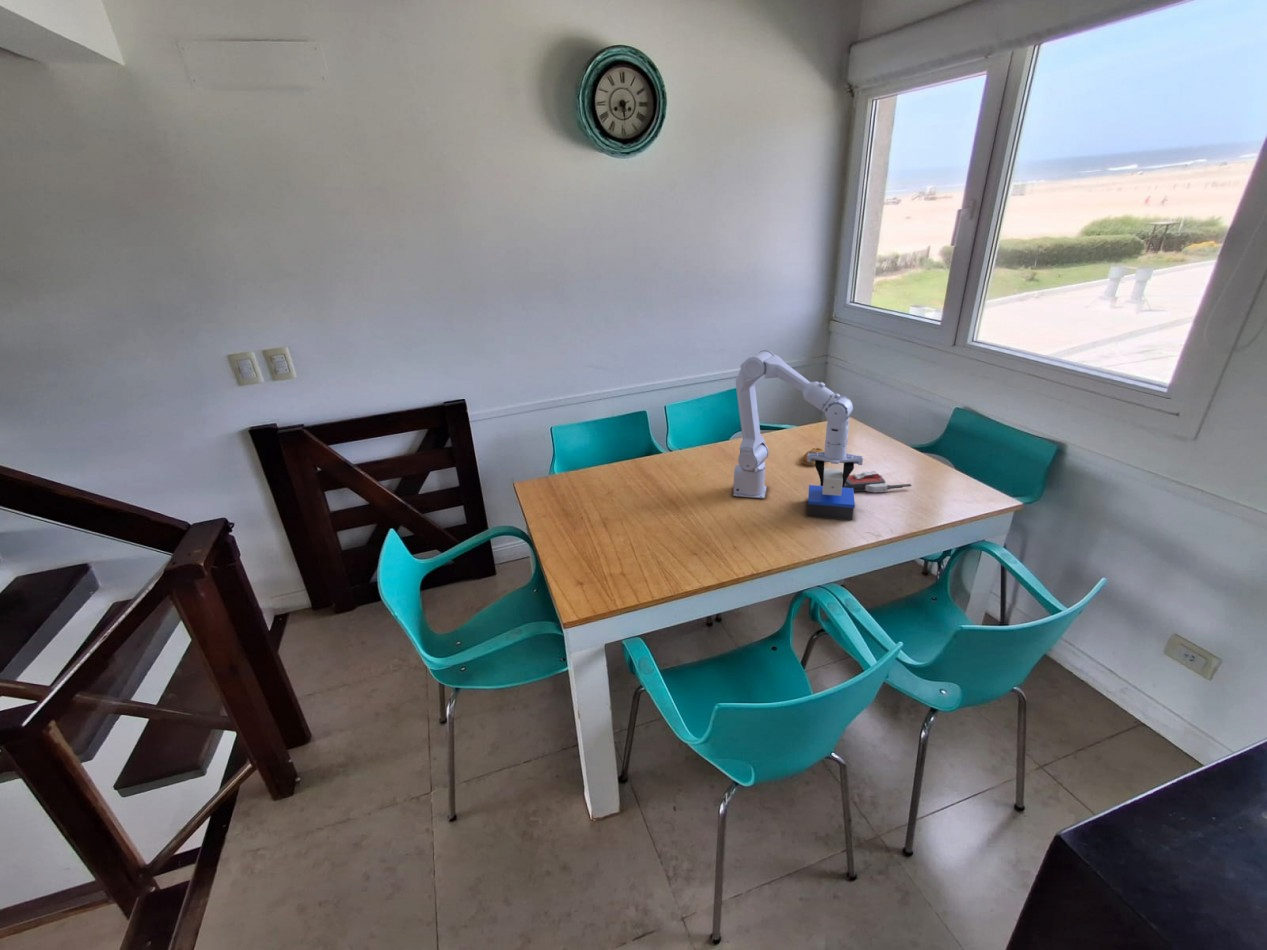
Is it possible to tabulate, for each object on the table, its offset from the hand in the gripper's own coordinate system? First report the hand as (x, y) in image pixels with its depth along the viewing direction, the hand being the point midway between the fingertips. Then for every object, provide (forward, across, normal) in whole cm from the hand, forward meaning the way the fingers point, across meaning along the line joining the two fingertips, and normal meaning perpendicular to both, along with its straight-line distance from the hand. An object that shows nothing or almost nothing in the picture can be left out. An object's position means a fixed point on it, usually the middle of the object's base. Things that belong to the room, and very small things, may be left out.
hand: (831, 485), depth 159 cm
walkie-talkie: (+8, +13, +17) cm, 23 cm away
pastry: (+8, -5, +34) cm, 35 cm away
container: (+8, 0, 0) cm, 8 cm away
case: (+1, 0, 0) cm, 1 cm away
